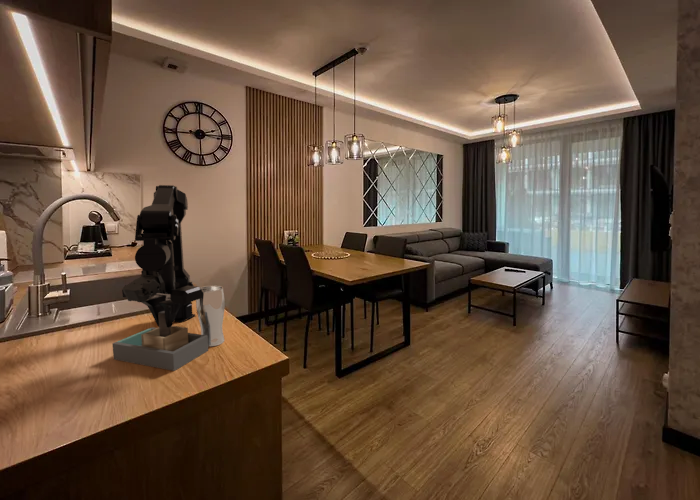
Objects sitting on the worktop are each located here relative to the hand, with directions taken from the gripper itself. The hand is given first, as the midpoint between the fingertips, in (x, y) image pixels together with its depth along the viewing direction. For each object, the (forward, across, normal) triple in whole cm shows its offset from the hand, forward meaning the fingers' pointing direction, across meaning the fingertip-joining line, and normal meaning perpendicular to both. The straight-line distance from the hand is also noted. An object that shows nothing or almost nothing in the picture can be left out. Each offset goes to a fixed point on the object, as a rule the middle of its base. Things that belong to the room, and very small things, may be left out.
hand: (164, 326), depth 81 cm
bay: (+8, -1, 0) cm, 8 cm away
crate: (+6, 0, 0) cm, 6 cm away
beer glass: (+8, +5, +10) cm, 14 cm away
